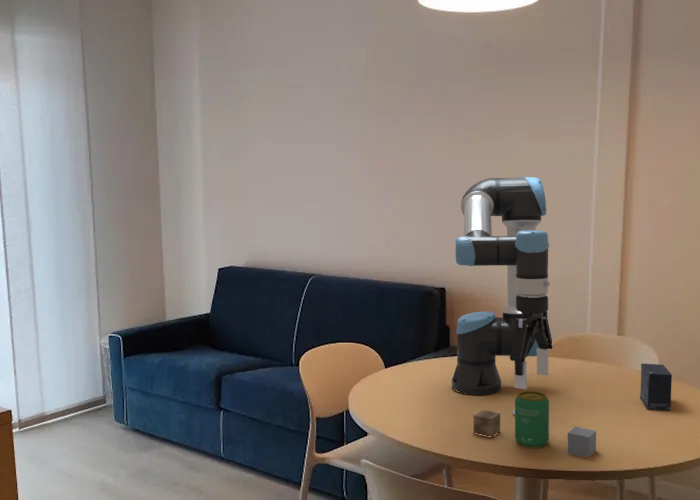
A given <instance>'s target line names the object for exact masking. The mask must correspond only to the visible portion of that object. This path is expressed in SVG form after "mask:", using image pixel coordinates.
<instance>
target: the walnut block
mask: <svg viewBox="0 0 700 500" xmlns="http://www.w3.org/2000/svg"><path fill="white" fill-rule="evenodd" d="M499 431H500V432H501V413H500V412H496V411H491V410H486V409H481V410H480V411H478V412H476V413H475V414H473V434H474V433H477V434H482V435H486V436H491V437H492V436H494V435H495V434H496V433H498V432H499ZM500 432H499V433H500ZM499 433H498V434H499ZM496 435H497V434H496ZM496 435H495V436H496ZM495 436H494V437H495ZM492 438H493V437H492Z"/></svg>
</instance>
